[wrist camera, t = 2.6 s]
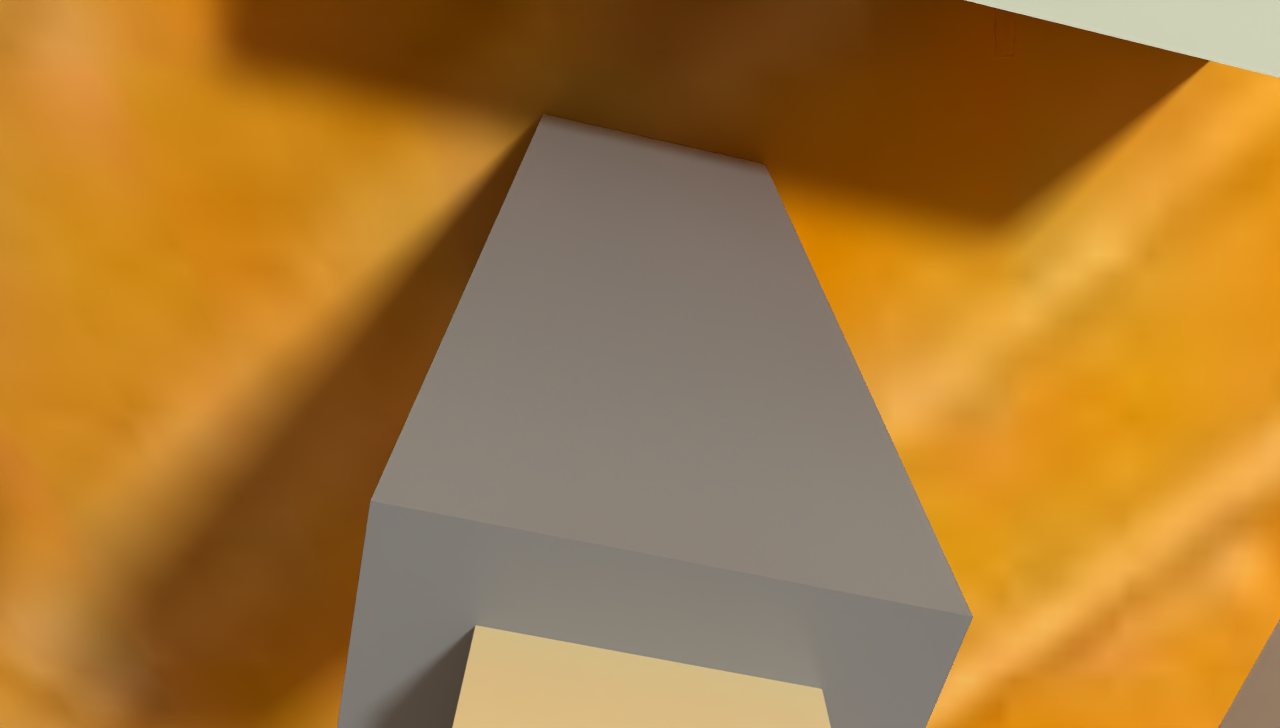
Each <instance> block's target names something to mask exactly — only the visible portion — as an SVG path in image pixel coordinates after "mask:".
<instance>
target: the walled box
mask: <svg viewBox="0 0 1280 728" xmlns="http://www.w3.org/2000/svg"><path fill="white" fill-rule="evenodd" d="M966 1H970V2H974V3H978V4H982V5H986V6H990V7H994V8H998V9H1003V10H1007V11H1011V12H1015V13H1019V14H1023V15H1027V16H1031V17H1035V18H1039V19H1043V20H1047V21H1051V22H1055V23H1059V24H1064V25H1068V26H1072V27H1076V28H1080V29H1084V30H1088V31H1092V32H1096V33H1100V34H1104V35H1108V36H1112V37H1116V38H1120V39H1125V40H1129V41H1133V42H1137V43H1141V44H1145V45H1149V46H1153V47H1157V48H1161V49H1165V50H1169V51H1173V52H1177V53H1181V54H1186V55H1190V56H1194V57H1198V58H1202V59H1206V60H1210V61H1214V62H1218V63H1222V64H1226V65H1230V66H1234V67H1238V68H1242V69H1247V70H1251V71H1255V72H1259V73H1263V74H1267V75H1271V76H1275V77H1279V78H1280V0H966Z"/></svg>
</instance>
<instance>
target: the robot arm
mask: <svg viewBox="0 0 1280 728" xmlns="http://www.w3.org/2000/svg"><path fill="white" fill-rule="evenodd" d="M1219 728H1280V620H1279V622H1278V624H1277V625H1276V627H1275V629H1274V631H1273V632H1272V634H1271V636H1270V638H1269V639H1268V641H1267V643H1266V645H1265V646H1264V648H1263V650H1262V652H1261V653H1260V655H1259V657H1258V659H1257V661H1256V662H1255V664H1254V666H1253V668H1252V669H1251V671H1250V673H1249V675H1248V676H1247V678H1246V680H1245V682H1244V683H1243V685H1242V687H1241V689H1240V690H1239V692H1238V694H1237V696H1236V698H1235V699H1234V701H1233V703H1232V705H1231V706H1230V708H1229V710H1228V712H1227V713H1226V715H1225V717H1224V719H1223V720H1222V722H1221V724H1220V726H1219Z"/></svg>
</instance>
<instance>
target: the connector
mask: <svg viewBox="0 0 1280 728" xmlns="http://www.w3.org/2000/svg"><path fill="white" fill-rule="evenodd" d="M972 618H973V616H972V614H971V611H970V609H969V607H968V605H967V603H966V601H965V598H964V596H963V594H962V592H961V590H960V587H959V585H958V583H957V581H956V579H955V577H954V574H953V572H952V570H951V568H950V566H949V564H948V561H947V559H946V557H945V555H944V553H943V550H942V548H941V546H940V544H939V542H938V540H937V537H936V535H935V533H934V531H933V529H932V527H931V524H930V522H929V520H928V518H927V516H926V513H925V511H924V509H923V507H922V505H921V503H920V500H919V498H918V496H917V494H916V492H915V490H914V487H913V485H912V483H911V481H910V479H909V476H908V474H907V472H906V470H905V468H904V466H903V463H902V461H901V459H900V457H899V455H898V453H897V450H896V448H895V446H894V444H893V442H892V439H891V437H890V435H889V433H888V431H887V429H886V426H885V424H884V422H883V420H882V418H881V416H880V413H879V411H878V409H877V407H876V405H875V402H874V400H873V398H872V396H871V394H870V392H869V389H868V387H867V385H866V383H865V381H864V379H863V376H862V374H861V372H860V370H859V368H858V365H857V363H856V361H855V359H854V357H853V355H852V352H851V350H850V348H849V346H848V344H847V342H846V339H845V337H844V335H843V333H842V331H841V328H840V326H839V324H838V322H837V320H836V318H835V315H834V313H833V311H832V309H831V307H830V304H829V302H828V300H827V298H826V296H825V294H824V291H823V289H822V287H821V285H820V283H819V281H818V278H817V276H816V274H815V272H814V270H813V267H812V265H811V263H810V261H809V259H808V257H807V254H806V252H805V250H804V248H803V246H802V244H801V241H800V239H799V237H798V235H797V233H796V230H795V228H794V226H793V224H792V222H791V220H790V217H789V215H788V213H787V211H786V209H785V207H784V204H783V202H782V200H781V198H780V196H779V193H778V191H777V189H776V187H775V185H774V183H773V180H772V178H771V176H770V174H769V172H768V170H767V167H766V165H765V164H762V163H757V162H753V161H749V160H744V159H740V158H736V157H731V156H727V155H722V154H718V153H714V152H709V151H705V150H700V149H696V148H692V147H687V146H683V145H678V144H674V143H670V142H665V141H661V140H656V139H652V138H648V137H643V136H639V135H635V134H630V133H626V132H621V131H617V130H613V129H608V128H604V127H599V126H595V125H591V124H586V123H582V122H577V121H573V120H569V119H564V118H560V117H556V116H551V115H547V114H543V116H542V118H541V120H540V122H539V125H538V127H537V129H536V131H535V134H534V136H533V138H532V140H531V142H530V145H529V147H528V149H527V151H526V154H525V156H524V158H523V160H522V163H521V165H520V167H519V169H518V172H517V174H516V176H515V178H514V181H513V183H512V185H511V187H510V189H509V192H508V194H507V196H506V198H505V201H504V203H503V205H502V207H501V210H500V212H499V214H498V216H497V219H496V221H495V223H494V225H493V227H492V230H491V232H490V234H489V236H488V239H487V241H486V243H485V245H484V248H483V250H482V252H481V254H480V257H479V259H478V261H477V263H476V266H475V268H474V270H473V272H472V274H471V277H470V279H469V281H468V283H467V286H466V288H465V290H464V292H463V295H462V297H461V299H460V301H459V304H458V306H457V308H456V310H455V313H454V315H453V317H452V319H451V321H450V324H449V326H448V328H447V330H446V333H445V335H444V337H443V339H442V342H441V344H440V346H439V348H438V351H437V353H436V355H435V357H434V359H433V362H432V364H431V366H430V368H429V371H428V373H427V375H426V377H425V380H424V382H423V384H422V386H421V389H420V391H419V393H418V395H417V398H416V400H415V402H414V404H413V406H412V409H411V411H410V413H409V415H408V418H407V420H406V422H405V424H404V427H403V429H402V431H401V433H400V436H399V438H398V440H397V442H396V445H395V447H394V449H393V451H392V453H391V456H390V458H389V460H388V462H387V465H386V467H385V469H384V471H383V474H382V476H381V478H380V480H379V483H378V485H377V487H376V489H375V491H374V494H373V496H372V498H371V500H370V507H369V514H368V520H367V527H366V534H365V541H364V548H363V555H362V562H361V568H360V575H359V582H358V589H357V596H356V603H355V610H354V616H353V623H352V630H351V637H350V644H349V651H348V658H347V664H346V671H345V678H344V685H343V692H342V699H341V706H340V712H339V719H338V726H337V728H926V725H927V723H928V721H929V718H930V716H931V714H932V711H933V709H934V707H935V704H936V702H937V700H938V697H939V695H940V693H941V690H942V688H943V686H944V683H945V681H946V679H947V676H948V674H949V672H950V669H951V667H952V665H953V662H954V660H955V658H956V655H957V653H958V651H959V648H960V646H961V644H962V641H963V639H964V637H965V634H966V632H967V630H968V627H969V625H970V623H971V620H972Z"/></svg>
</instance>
